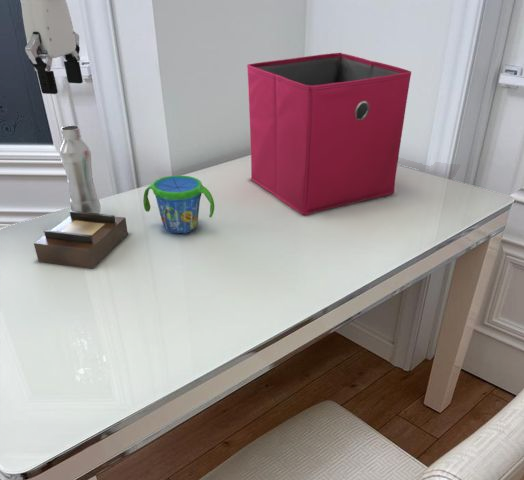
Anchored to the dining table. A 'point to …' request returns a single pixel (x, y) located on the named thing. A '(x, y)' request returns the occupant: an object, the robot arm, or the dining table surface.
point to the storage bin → (326, 129)
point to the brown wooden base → (81, 239)
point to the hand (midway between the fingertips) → (63, 88)
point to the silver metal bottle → (78, 171)
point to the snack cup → (178, 202)
